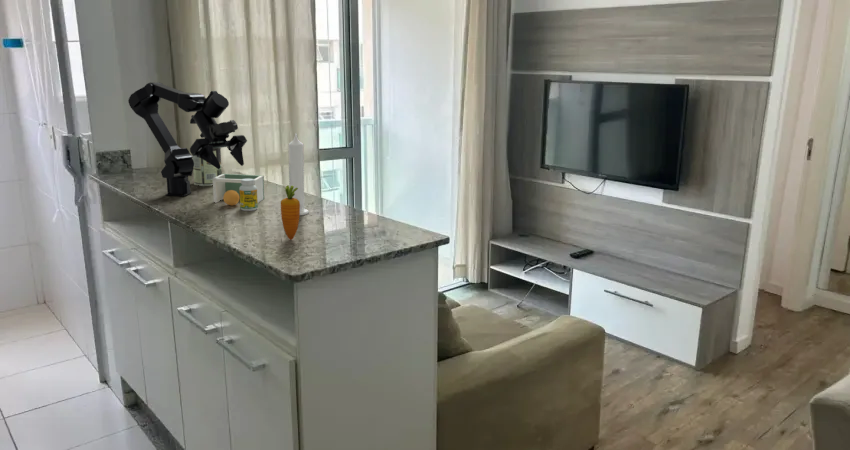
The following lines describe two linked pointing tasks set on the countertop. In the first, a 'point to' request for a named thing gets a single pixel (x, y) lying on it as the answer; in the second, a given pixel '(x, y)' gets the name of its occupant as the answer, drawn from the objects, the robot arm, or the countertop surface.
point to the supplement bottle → (248, 195)
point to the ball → (231, 197)
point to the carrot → (290, 212)
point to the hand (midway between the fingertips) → (231, 166)
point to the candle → (297, 171)
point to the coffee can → (206, 170)
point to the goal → (235, 185)
